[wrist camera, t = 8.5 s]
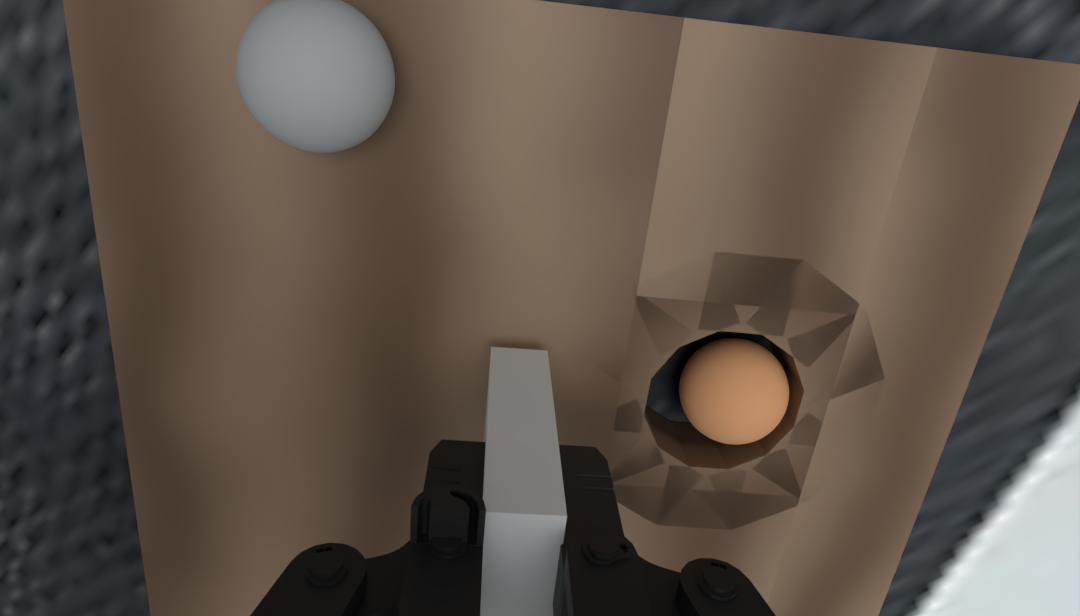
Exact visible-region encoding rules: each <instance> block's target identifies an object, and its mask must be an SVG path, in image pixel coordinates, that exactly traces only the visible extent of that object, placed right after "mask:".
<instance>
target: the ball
mask: <svg viewBox="0 0 1080 616" xmlns="http://www.w3.org/2000/svg"><path fill="white" fill-rule="evenodd" d="M679 397H680V401H681V405H682V408H683V411H684V413H685V415H686V417H687V418H688V419H689V421H690V422H691V424H692V425H693V426H694V427H695V428H696V429H697V430H698V431H699V432H701V433H702V434H703V435H705V436H707V437H708V438H710V439H712V440H715V441H718V442H721V443H725V444H733V445H739V444H747V443H751V442H754V441H757V440H759V439H761V438H763V437H765V436H766V435H768V434H769V433H770V432H771V431H773V430H774V429H775V428H776V426H777V425H778V424H779V423H780V421H781V420H782V418H783V416H784V414H785V412H786V409H787V406H788V401H789V385H788V380H787V377H786V374H785V371H784V369H783V367H782V365H781V364H780V362H779V361H778V360H777V358H776V357H775V356H774V355H773V354H772V353H771V352H770V351H768V350H767V349H766V348H764V347H763V346H761V345H759V344H757V343H755V342H753V341H750V340H746V339H741V338H723V339H719V340H715V341H712V342H710V343H708V344H706V345H704V346H702V347H701V348H700V349H698V350H697V351H696V352H695V353H694V354H693V355H692V356H691V357H690V359H689V360H688V361H687V363H686V365H685V367H684V369H683V371H682V374H681V377H680V382H679Z"/></svg>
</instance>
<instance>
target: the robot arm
mask: <svg viewBox="0 0 1080 616" xmlns="http://www.w3.org/2000/svg"><path fill="white" fill-rule="evenodd" d="M553 614H554V616H776V615H775V614H774V612H773V611H772V610H771V608H770V607H769V605H768V604H767V603H766V601H765V600H764V599H763V597H762V596H761V595H760V593H759V592H758V590H757V589H756V588H755V586H754V585H753V584H752V582H751V581H750V580H749V579H748V578H747V577H746V576H745V575H744V574H743V573H742V572H741V571H740V570H739V569H738V568H736V567H734V566H732V565H731V564H729V563H727V562H724V561H721V560H717V559H714V558H698V559H695V560H692V561H689V562H688V563H687V564H686V565H685V566H684V567H683V568H682V569H681V573H680V572H677V571H673V570H670V569H667V568H663V567H660V566H657V565H655V564H652V563H650V562H648V561H646V560H645V559H643V558H641V557H640V556H639V555H638V553H637V551H636V549H635V547H634V545H633V543H632V542H630V541H629V540H628V539H627V538H626V537H625V536H624V532H623V528H622V523H621V519H620V514H619V510H618V505H617V501H616V496H615V492H614V487H613V483H612V479H611V474H610V469H609V465H608V461H607V460H606V458H605V457H604V456H603V455H602V454H601V452H600V451H599V450H598V449H597V448H596V447H590V446H573V445H559V443H558V434H557V426H556V417H555V409H554V400H553V392H552V383H551V375H550V366H549V358H548V351H547V350H532V349H518V348H503V347H491V355H490V367H489V380H488V393H487V406H486V419H485V432H484V442H477V441H460V440H441V441H440V442H439V443H438V444H437V445H436V446H435V447H434V448H433V449H432V451H431V452H430V455H429V460H428V466H427V471H426V477H425V483H424V488H423V492H422V493H420V494H419V495H418V496H417V497H416V498H415V499H414V501H413V503H412V505H411V526H410V540H409V541H408V542H407V543H406V544H405V545H404V546H402V547H401V548H399V549H397V550H395V551H393V552H391V553H388V554H385V555H381V556H377V557H372V558H367V559H365V558H364V556H363V555H362V554H361V553H360V552H359V551H358V550H357V549H356V548H354V547H351V546H349V545H346V544H342V543H325V544H320V545H314V546H312V547H310V548H308V549H306V550H304V551H302V552H300V553H299V554H298V555H297V556H296V557H295V558H294V559H293V560H292V561H291V562H290V563H289V564H288V566H287V567H286V568H285V570H284V571H283V572H282V574H281V575H280V576H279V578H278V579H277V580H276V582H275V583H274V584H273V586H272V587H271V588H270V590H269V591H268V592H267V594H266V595H265V596H264V598H263V599H262V600H261V602H260V603H259V604H258V606H257V607H256V608H255V610H254V611H253V612H252V614H251V615H250V616H553Z"/></svg>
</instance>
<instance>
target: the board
mask: <svg viewBox="0 0 1080 616" xmlns="http://www.w3.org/2000/svg"><path fill="white" fill-rule="evenodd" d="M62 1H63V8H64V15H65V22H66V29H67V36H68V43H69V50H70V57H71V64H72V71H73V78H74V85H75V92H76V99H77V106H78V113H79V120H80V127H81V134H82V141H83V148H84V155H85V162H86V169H87V176H88V183H89V190H90V197H91V204H92V211H93V218H94V225H95V232H96V239H97V246H98V253H99V260H100V267H101V274H102V281H103V288H104V295H105V302H106V309H107V316H108V323H109V330H110V337H111V344H112V351H113V358H114V365H115V372H116V379H117V386H118V393H119V399H120V406H121V413H122V420H123V427H124V434H125V441H126V448H127V455H128V462H129V469H130V476H131V483H132V490H133V497H134V504H135V511H136V518H137V525H138V532H139V539H140V546H141V553H142V560H143V567H144V574H145V581H146V588H147V595H148V602H149V609H150V616H250V615H251V614H252V612H253V611H254V610H255V608H256V607H257V606H258V604H259V603H260V602H261V600H262V599H263V598H264V596H265V595H266V594H267V592H268V591H269V590H270V588H271V587H272V586H273V584H274V583H275V582H276V580H277V579H278V578H279V576H280V575H281V574H282V572H283V571H284V570H285V568H286V567H287V566H288V564H289V563H290V562H291V561H292V560H293V559H294V558H295V557H296V556H297V555H298V554H299V553H300V552H302V551H304V550H306V549H308V548H310V547H312V546H314V545H320V544H325V543H342V544H346V545H349V546H351V547H354V548H356V549H357V550H358V551H359V552H360V553H361V554H362V555H363V556H364V558H365V559H367V558H372V557H377V556H381V555H385V554H388V553H391V552H393V551H395V550H397V549H399V548H401V547H402V546H404V545H405V544H406V543H407V542H408V541H409V540H410V526H411V505H412V503H413V501H414V499H415V498H416V497H417V496H418V495H419V494H420V493H422V492H423V488H424V483H425V477H426V471H427V466H428V460H429V455H430V452H431V451H432V449H433V448H434V447H435V446H436V445H437V444H438V443H439V442H440V441H441V440H460V441H477V442H484V432H485V419H486V406H487V393H488V380H489V367H490V355H491V347H503V348H518V349H532V350H547V351H548V358H549V366H550V375H551V383H552V392H553V400H554V409H555V417H556V426H557V434H558V443H559V445H573V446H590V447H596V448H597V449H598V450H599V451H600V452H601V454H602V455H603V456H604V457H605V458H606V460H607V461H608V465H609V469H610V474H611V479H612V483H613V487H614V492H615V496H616V501H617V505H618V510H619V514H620V519H621V523H622V528H623V532H624V536H625V537H626V538H627V539H628V540H629V541H630V542H632V543H633V545H634V547H635V549H636V551H637V553H638V555H639V556H640V557H641V558H643V559H645V560H646V561H648V562H650V563H652V564H655V565H657V566H660V567H663V568H667V569H670V570H673V571H677V572H680V573H681V569H682V568H683V567H684V566H685V565H686V564H687V563H688V562H689V561H692V560H695V559H698V558H714V559H717V560H721V561H724V562H727V563H729V564H731V565H732V566H734V567H736V568H738V569H739V570H740V571H741V572H742V573H743V574H744V575H745V576H746V577H747V578H748V579H749V580H750V581H751V582H752V584H753V585H754V586H755V588H756V589H757V590H758V592H759V593H760V595H761V596H762V597H763V599H764V600H765V601H766V603H767V604H768V605H769V607H770V608H771V610H772V611H773V612H774V614H775V615H776V616H878V615H879V612H880V610H881V607H882V605H883V602H884V599H885V597H886V594H887V592H888V589H889V587H890V584H891V581H892V579H893V576H894V574H895V571H896V569H897V566H898V564H899V561H900V558H901V556H902V553H903V551H904V548H905V546H906V543H907V540H908V538H909V535H910V533H911V530H912V528H913V525H914V522H915V520H916V517H917V515H918V512H919V510H920V507H921V504H922V502H923V499H924V497H925V494H926V492H927V489H928V487H929V484H930V481H931V479H932V476H933V474H934V471H935V469H936V466H937V463H938V461H939V458H940V456H941V453H942V451H943V448H944V445H945V443H946V440H947V438H948V435H949V433H950V430H951V428H952V425H953V422H954V420H955V417H956V415H957V412H958V410H959V407H960V404H961V402H962V399H963V397H964V394H965V392H966V389H967V386H968V384H969V381H970V379H971V376H972V374H973V371H974V369H975V366H976V363H977V361H978V358H979V356H980V353H981V351H982V348H983V345H984V343H985V340H986V338H987V335H988V333H989V330H990V327H991V325H992V322H993V320H994V317H995V315H996V312H997V310H998V307H999V304H1000V302H1001V299H1002V297H1003V294H1004V292H1005V289H1006V286H1007V284H1008V281H1009V279H1010V276H1011V274H1012V271H1013V268H1014V266H1015V263H1016V261H1017V258H1018V256H1019V253H1020V250H1021V248H1022V245H1023V243H1024V240H1025V238H1026V235H1027V233H1028V230H1029V227H1030V225H1031V222H1032V220H1033V217H1034V215H1035V212H1036V209H1037V207H1038V204H1039V202H1040V199H1041V197H1042V194H1043V191H1044V189H1045V186H1046V184H1047V181H1048V179H1049V176H1050V174H1051V171H1052V168H1053V166H1054V163H1055V161H1056V158H1057V156H1058V153H1059V150H1060V148H1061V145H1062V143H1063V140H1064V138H1065V135H1066V132H1067V130H1068V127H1069V125H1070V122H1071V120H1072V117H1073V115H1074V112H1075V109H1076V107H1077V104H1078V102H1079V99H1080V65H1079V64H1070V63H1062V62H1054V61H1045V60H1037V59H1028V58H1020V57H1011V56H1003V55H995V54H986V53H978V52H969V51H961V50H952V49H944V48H936V47H927V46H919V45H910V44H902V43H893V42H885V41H876V40H868V39H860V38H851V37H843V36H834V35H826V34H817V33H809V32H801V31H792V30H784V29H775V28H767V27H758V26H750V25H742V24H733V23H725V22H716V21H708V20H699V19H691V18H682V17H674V16H666V15H657V14H649V13H640V12H632V11H623V10H615V9H607V8H598V7H590V6H581V5H573V4H564V3H556V2H548V1H539V0H342V1H344V2H346V3H348V4H350V5H352V6H353V7H355V8H356V9H358V10H359V11H360V12H361V13H363V14H364V15H365V16H366V17H367V18H368V19H369V20H370V21H371V22H372V23H373V24H374V25H375V26H376V28H377V29H378V31H379V32H380V33H381V35H382V37H383V38H384V40H385V42H386V44H387V46H388V49H389V51H390V54H391V57H392V60H393V65H394V71H395V91H394V96H393V101H392V104H391V107H390V110H389V112H388V114H387V116H386V118H385V119H384V121H383V122H382V124H381V125H380V126H379V128H378V129H377V130H376V131H375V132H374V133H373V134H372V135H371V136H370V137H368V138H367V139H366V140H365V141H363V142H361V143H359V144H358V145H356V146H353V147H351V148H348V149H346V150H342V151H338V152H330V153H317V152H309V151H304V150H301V149H297V148H294V147H292V146H290V145H287V144H285V143H283V142H282V141H280V140H278V139H277V138H275V137H274V136H273V135H271V134H270V133H269V132H267V131H266V130H265V129H264V128H263V127H262V126H261V125H260V124H259V123H258V121H257V120H256V119H255V118H254V117H253V115H252V114H251V112H250V111H249V109H248V108H247V106H246V104H245V102H244V100H243V97H242V95H241V92H240V89H239V85H238V81H237V74H236V56H237V49H238V45H239V42H240V38H241V36H242V34H243V32H244V29H245V28H246V26H247V25H248V23H249V22H250V20H251V19H252V18H253V17H254V16H255V15H256V13H258V12H259V11H260V10H261V9H262V8H264V7H265V6H266V5H268V4H269V3H271V2H273V1H274V0H62ZM718 331H726V332H738V333H749V334H761V335H763V336H765V337H766V338H767V339H769V340H770V342H771V345H772V348H773V351H774V356H775V357H776V358H777V360H778V361H779V362H780V364H781V365H782V367H783V369H784V371H785V374H786V377H787V380H788V385H789V401H788V406H787V409H786V412H785V414H784V416H783V418H782V420H781V421H780V423H779V424H778V425H777V426H776V428H775V429H774V430H773V431H771V432H770V433H769V434H768V435H766V436H765V437H763V438H761V439H759V440H757V441H754V442H751V443H747V444H739V445H733V444H725V443H721V442H718V441H715V440H712V439H710V438H708V437H707V436H705V435H703V434H702V433H701V432H699V431H698V430H697V429H696V428H695V427H694V426H693V425H692V424H691V423H678V422H671V421H669V420H667V419H666V418H664V417H663V416H661V415H660V414H658V413H657V412H655V411H654V410H652V409H650V408H649V407H647V406H646V402H647V397H648V392H649V387H650V381H651V378H652V377H653V376H654V375H655V374H656V373H657V371H658V370H659V369H660V368H661V367H662V366H663V365H664V363H665V362H666V361H667V360H668V359H669V358H670V357H671V355H672V354H673V353H674V352H675V351H676V350H677V349H678V347H681V346H683V345H686V344H688V343H691V342H693V341H696V340H698V339H701V338H703V337H706V336H708V335H711V334H713V333H716V332H718ZM553 616H554V614H553Z"/></svg>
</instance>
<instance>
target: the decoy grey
mask: <svg viewBox="0 0 1080 616" xmlns="http://www.w3.org/2000/svg"><path fill="white" fill-rule="evenodd" d="M236 74H237V81H238V85H239V89H240V92H241V95H242V97H243V100H244V102H245V104H246V106H247V108H248V109H249V111H250V112H251V114H252V115H253V117H254V118H255V119H256V120H257V121H258V123H259V124H260V125H261V126H262V127H263V128H264V129H265V130H266V131H267V132H269V133H270V134H271V135H273V136H274V137H275V138H277V139H278V140H280V141H282V142H283V143H285V144H287V145H290V146H292V147H294V148H297V149H301V150H304V151H309V152H317V153H330V152H338V151H342V150H346V149H348V148H351V147H353V146H356V145H358V144H359V143H361V142H363V141H365V140H366V139H367V138H368V137H370V136H371V135H372V134H373V133H374V132H375V131H376V130H377V129H378V128H379V126H380V125H381V124H382V122H383V121H384V119H385V118H386V116H387V114H388V112H389V110H390V107H391V104H392V101H393V96H394V91H395V71H394V65H393V60H392V57H391V54H390V51H389V49H388V46H387V44H386V42H385V40H384V38H383V37H382V35H381V33H380V32H379V31H378V29H377V28H376V26H375V25H374V24H373V23H372V22H371V21H370V20H369V19H368V18H367V17H366V16H365V15H364V14H363V13H361V12H360V11H359V10H358V9H356V8H355V7H353V6H352V5H350V4H348V3H346V2H344V1H342V0H274V1H273V2H271V3H269V4H268V5H266V6H265V7H264V8H262V9H261V10H260V11H259V12H258V13H256V15H255V16H254V17H253V18H252V19H251V20H250V22H249V23H248V25H247V26H246V28H245V29H244V32H243V34H242V36H241V38H240V42H239V45H238V49H237V56H236Z"/></svg>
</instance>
